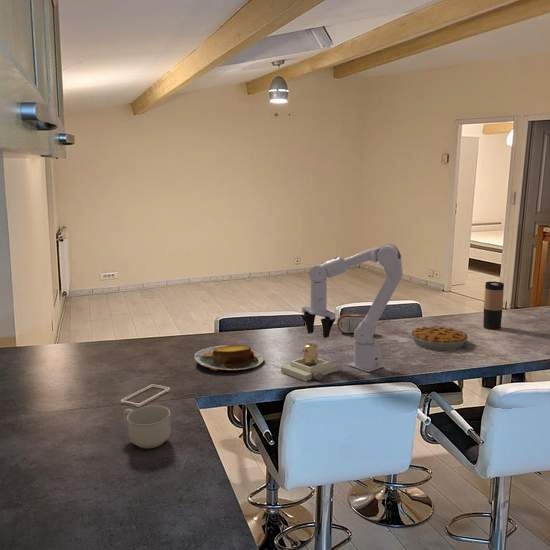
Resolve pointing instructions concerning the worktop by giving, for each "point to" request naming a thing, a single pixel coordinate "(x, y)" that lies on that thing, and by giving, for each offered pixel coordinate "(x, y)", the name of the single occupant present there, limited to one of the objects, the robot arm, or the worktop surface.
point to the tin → (349, 322)
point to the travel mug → (493, 305)
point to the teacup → (148, 425)
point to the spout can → (310, 354)
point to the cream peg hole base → (309, 369)
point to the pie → (439, 338)
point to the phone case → (144, 390)
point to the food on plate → (228, 357)
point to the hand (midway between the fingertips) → (318, 335)
